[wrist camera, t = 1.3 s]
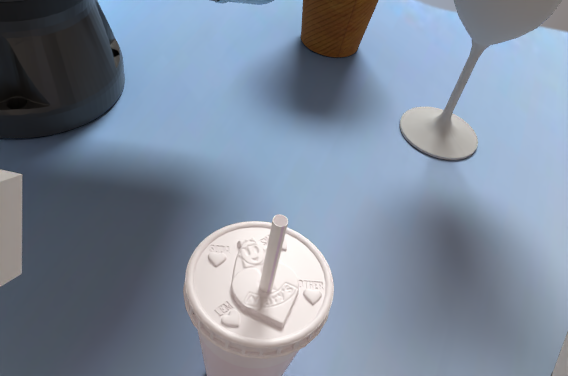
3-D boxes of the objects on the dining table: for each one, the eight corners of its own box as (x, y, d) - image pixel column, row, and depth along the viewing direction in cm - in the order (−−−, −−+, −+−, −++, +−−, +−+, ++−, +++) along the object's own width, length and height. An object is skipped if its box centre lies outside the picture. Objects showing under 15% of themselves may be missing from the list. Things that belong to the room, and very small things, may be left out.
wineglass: (438, 100, 50) (547, -145, 36) (495, 148, 46) (646, -106, 31) (380, 117, 47) (474, -145, 32) (437, 171, 43) (574, -102, 28)
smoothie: (201, 455, 25) (214, 307, 15) (169, 341, 29) (164, 163, 19) (316, 411, 28) (394, 258, 18) (273, 311, 31) (316, 138, 21)
